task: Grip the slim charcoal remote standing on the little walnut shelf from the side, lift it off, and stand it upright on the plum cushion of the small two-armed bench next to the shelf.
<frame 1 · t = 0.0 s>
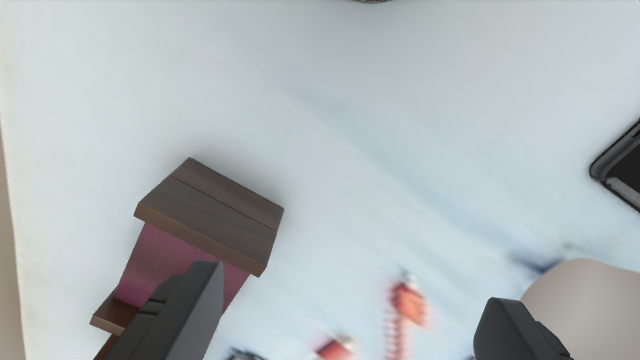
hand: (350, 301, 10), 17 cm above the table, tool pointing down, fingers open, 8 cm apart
cushioned bench: (208, 236, 31), on the table
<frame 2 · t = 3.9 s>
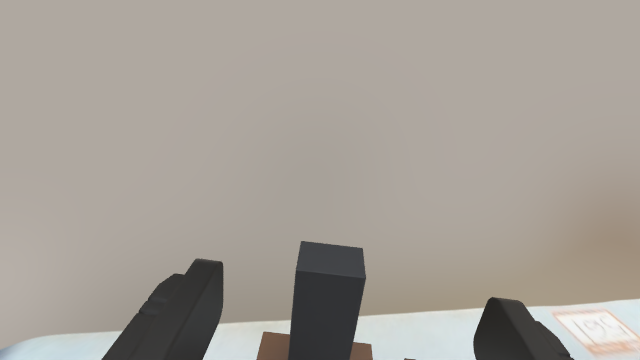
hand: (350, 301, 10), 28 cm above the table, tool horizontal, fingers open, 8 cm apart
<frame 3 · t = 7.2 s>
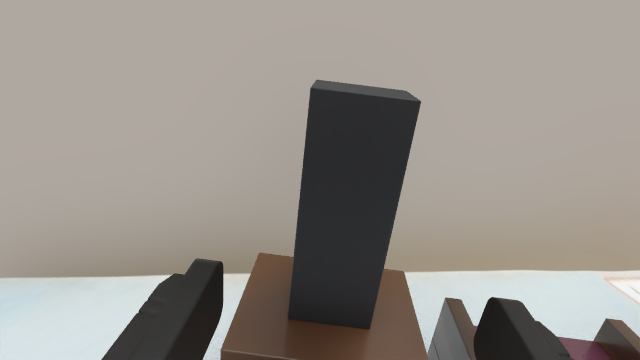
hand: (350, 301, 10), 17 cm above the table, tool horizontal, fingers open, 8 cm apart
slim remote: (329, 303, 19), point 10 cm above the table, touching walnut shelf
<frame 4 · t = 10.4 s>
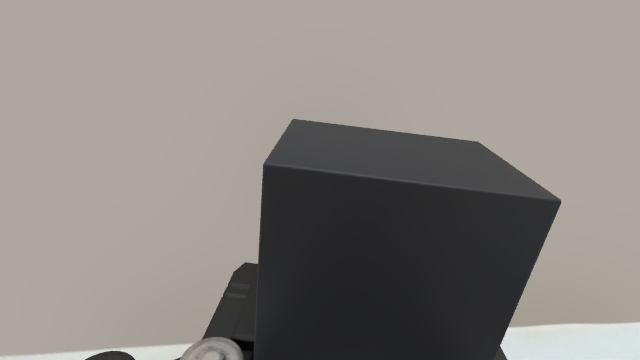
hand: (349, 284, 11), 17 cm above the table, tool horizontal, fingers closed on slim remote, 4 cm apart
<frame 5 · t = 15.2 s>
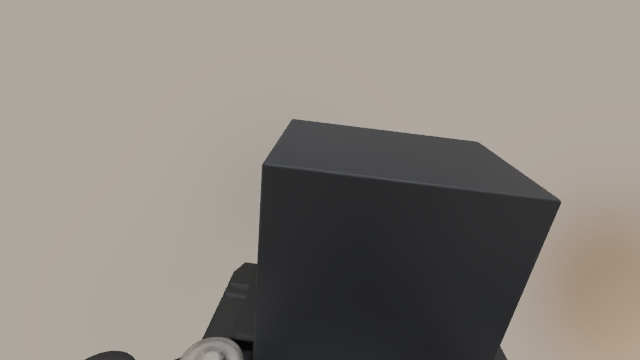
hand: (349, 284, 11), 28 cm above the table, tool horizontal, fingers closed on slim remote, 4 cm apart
when the fingers open (12 cm above the table, at t = 20.0 s): slim remote stays where it is, resting on cushioned bench.
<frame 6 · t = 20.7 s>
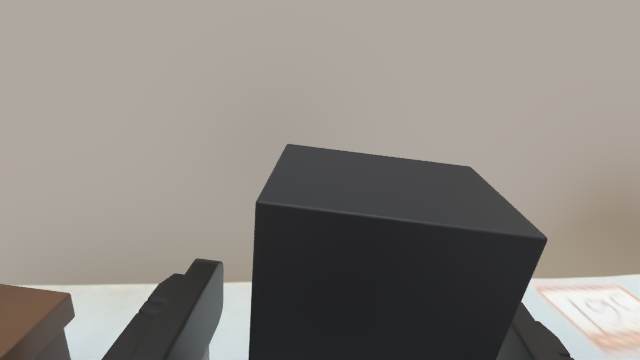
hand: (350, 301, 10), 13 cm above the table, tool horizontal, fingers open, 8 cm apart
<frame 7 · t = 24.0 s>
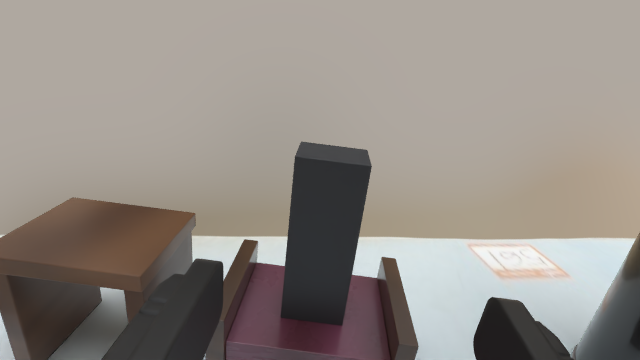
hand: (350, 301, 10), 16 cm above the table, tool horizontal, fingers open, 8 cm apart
cushioned bench: (306, 357, 27), on the table
walnut shelf: (117, 338, 27), on the table
slim remote: (313, 305, 25), point 5 cm above the table, touching cushioned bench
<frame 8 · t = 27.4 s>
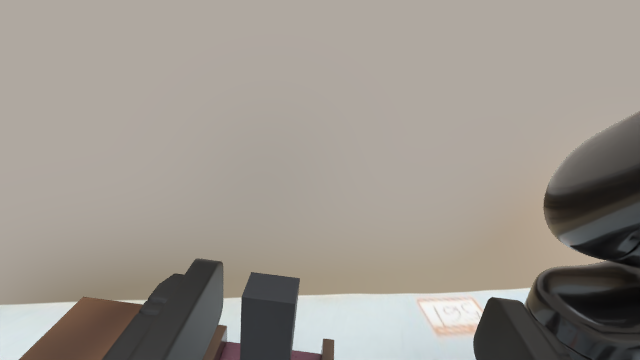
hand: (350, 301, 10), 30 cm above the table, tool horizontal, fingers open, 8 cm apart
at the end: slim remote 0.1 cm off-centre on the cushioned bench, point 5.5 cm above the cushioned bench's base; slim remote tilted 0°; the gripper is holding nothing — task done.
